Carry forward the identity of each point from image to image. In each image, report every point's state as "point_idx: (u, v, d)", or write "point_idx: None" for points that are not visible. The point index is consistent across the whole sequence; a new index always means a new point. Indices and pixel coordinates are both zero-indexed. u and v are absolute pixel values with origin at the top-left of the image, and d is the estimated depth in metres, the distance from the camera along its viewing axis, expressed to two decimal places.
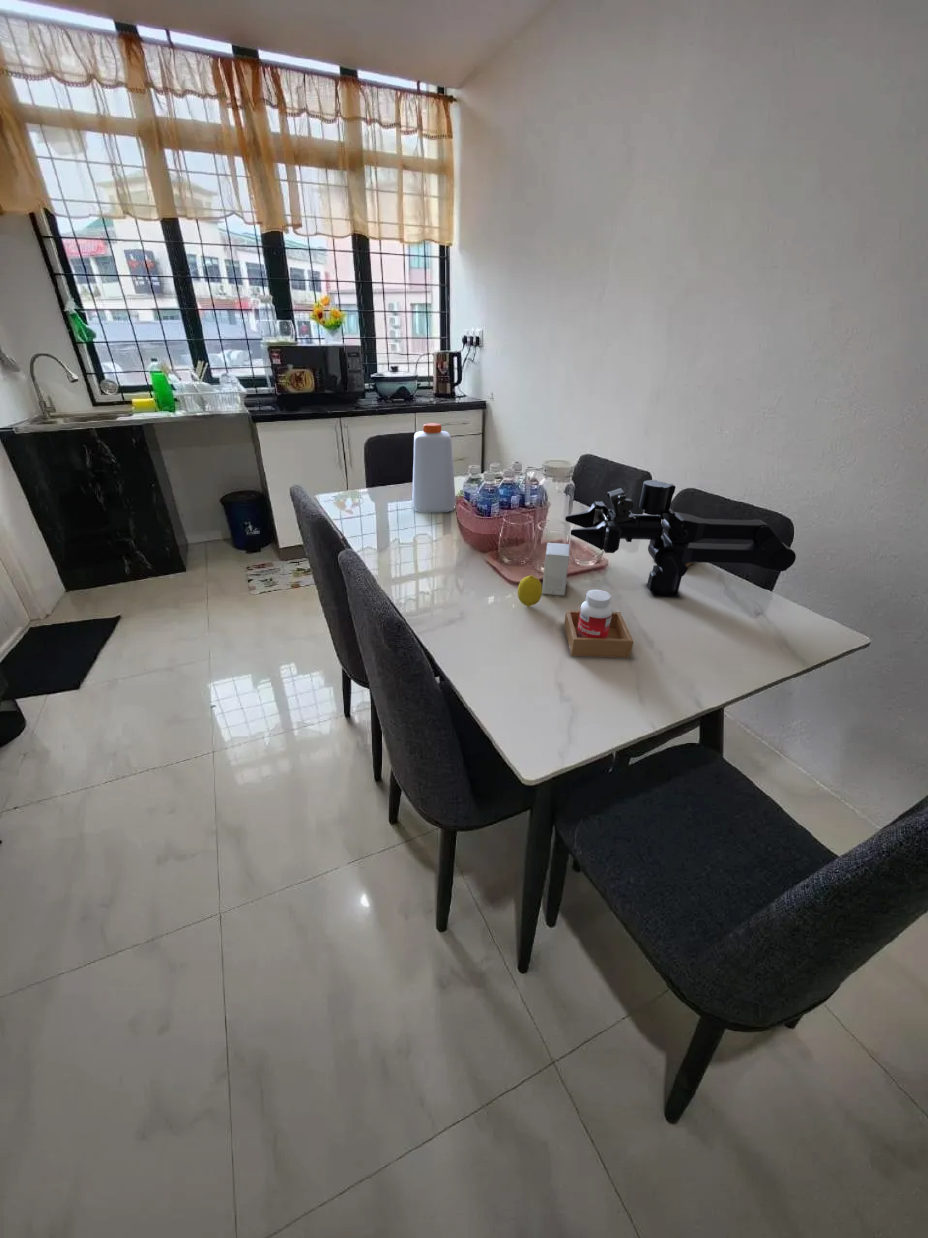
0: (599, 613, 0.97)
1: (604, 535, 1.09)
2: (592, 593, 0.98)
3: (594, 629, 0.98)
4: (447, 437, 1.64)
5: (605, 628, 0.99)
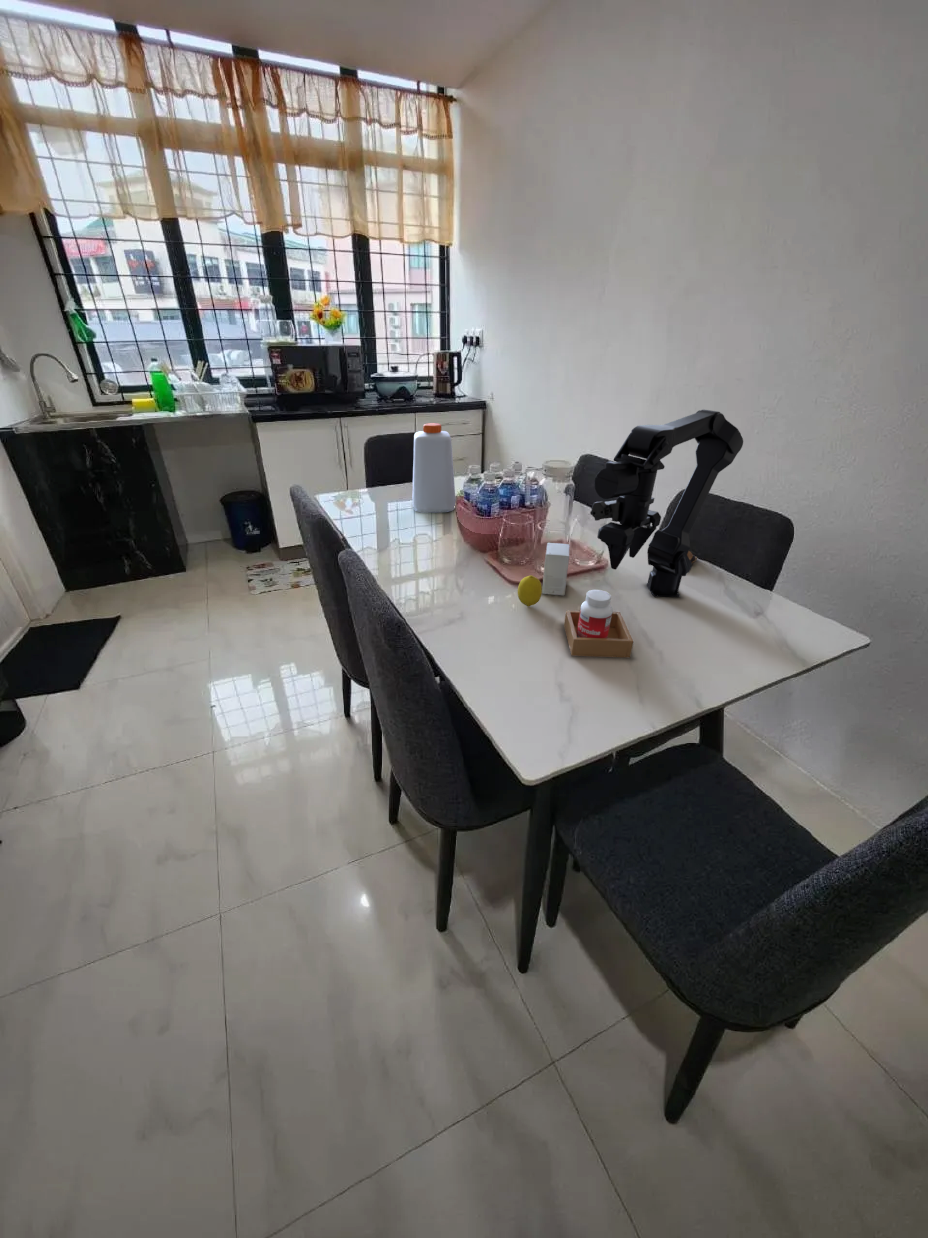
0: (599, 613, 0.97)
1: (609, 542, 1.02)
2: (592, 593, 0.98)
3: (594, 629, 0.98)
4: (447, 437, 1.64)
5: (605, 628, 0.99)
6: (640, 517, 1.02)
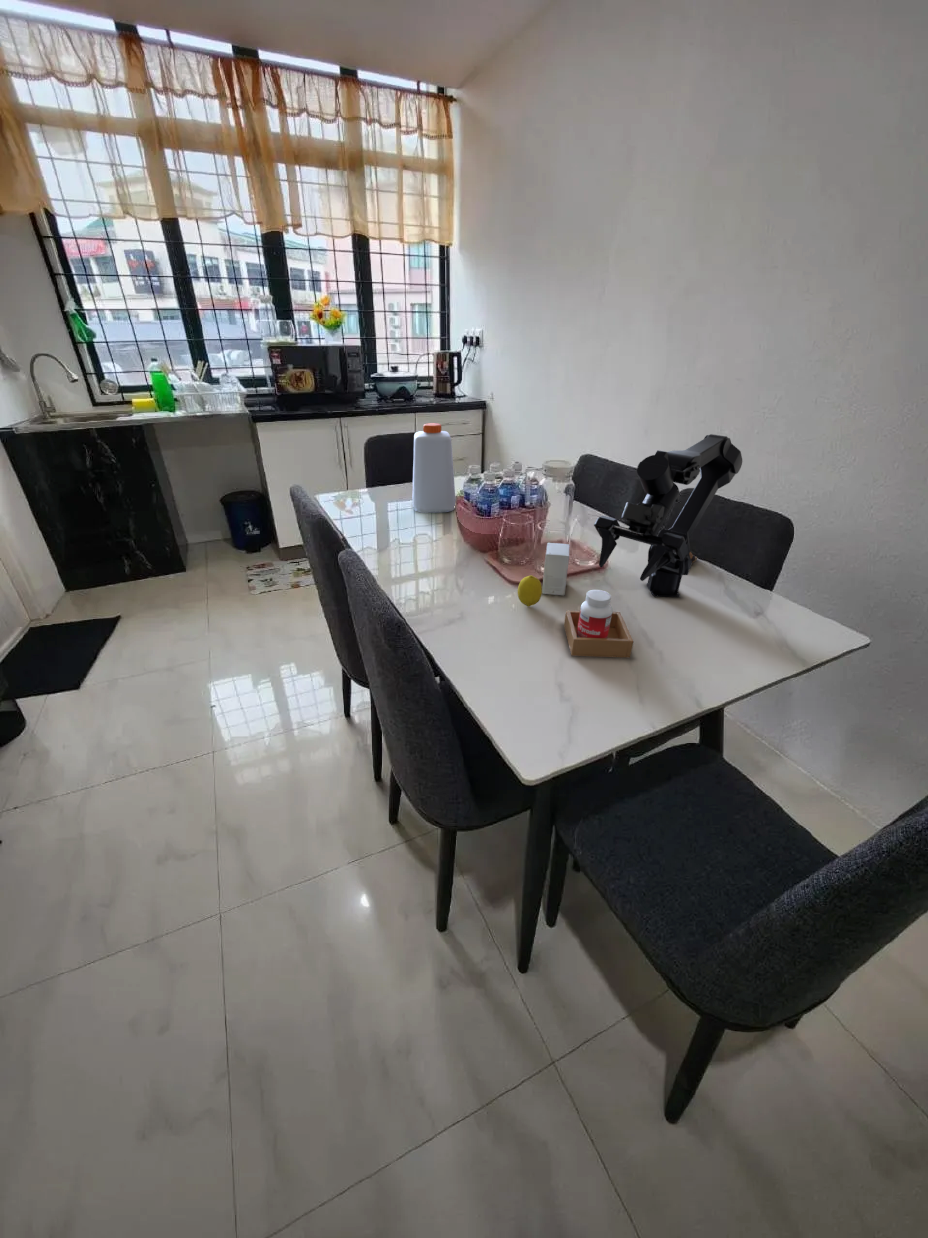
0: (599, 613, 0.97)
1: (672, 553, 0.97)
2: (592, 593, 0.98)
3: (594, 629, 0.98)
4: (447, 437, 1.64)
5: (605, 628, 0.99)
6: None
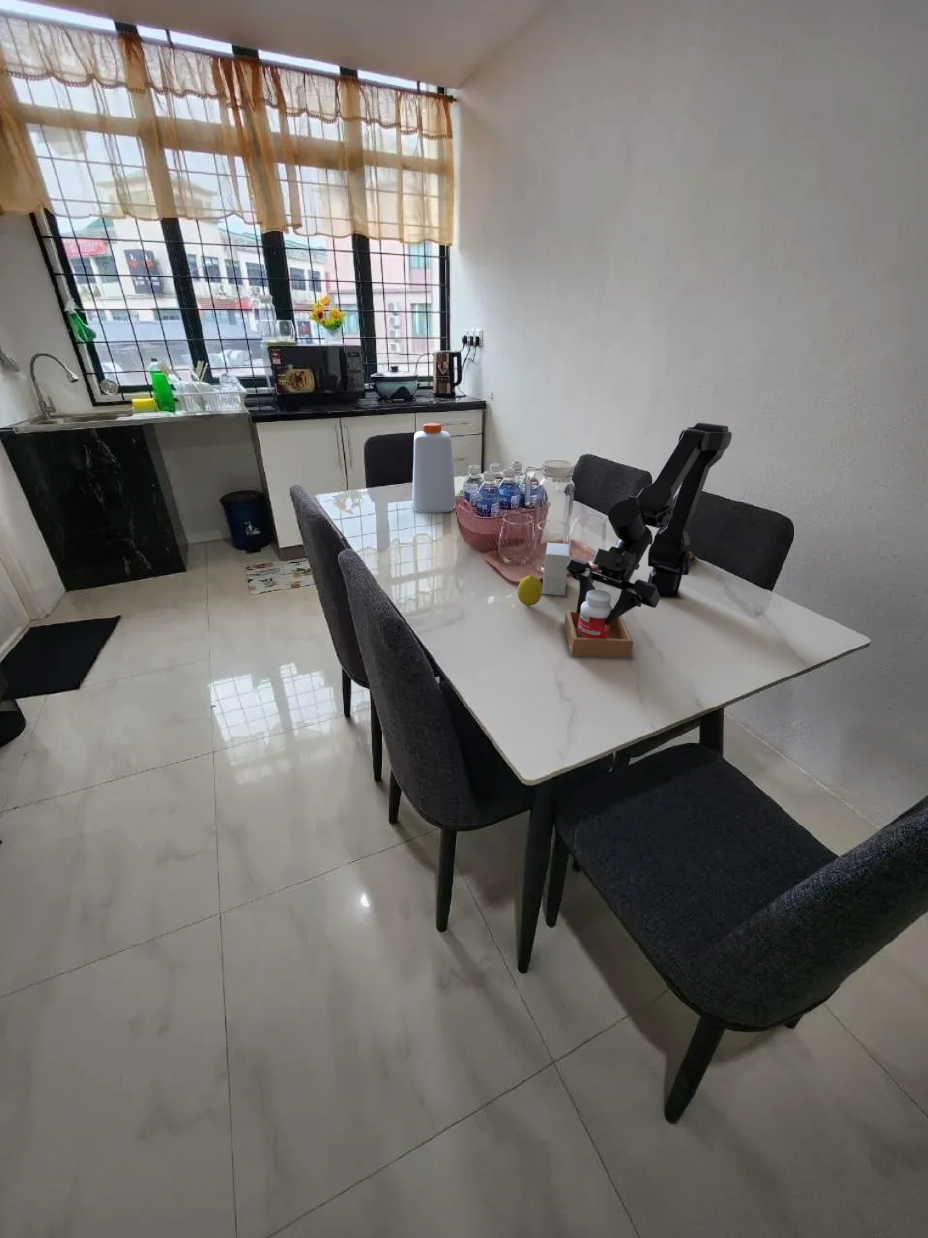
0: (599, 613, 0.97)
1: (638, 599, 0.95)
2: (592, 593, 0.98)
3: (594, 629, 0.98)
4: (447, 437, 1.64)
5: (605, 628, 0.99)
6: None
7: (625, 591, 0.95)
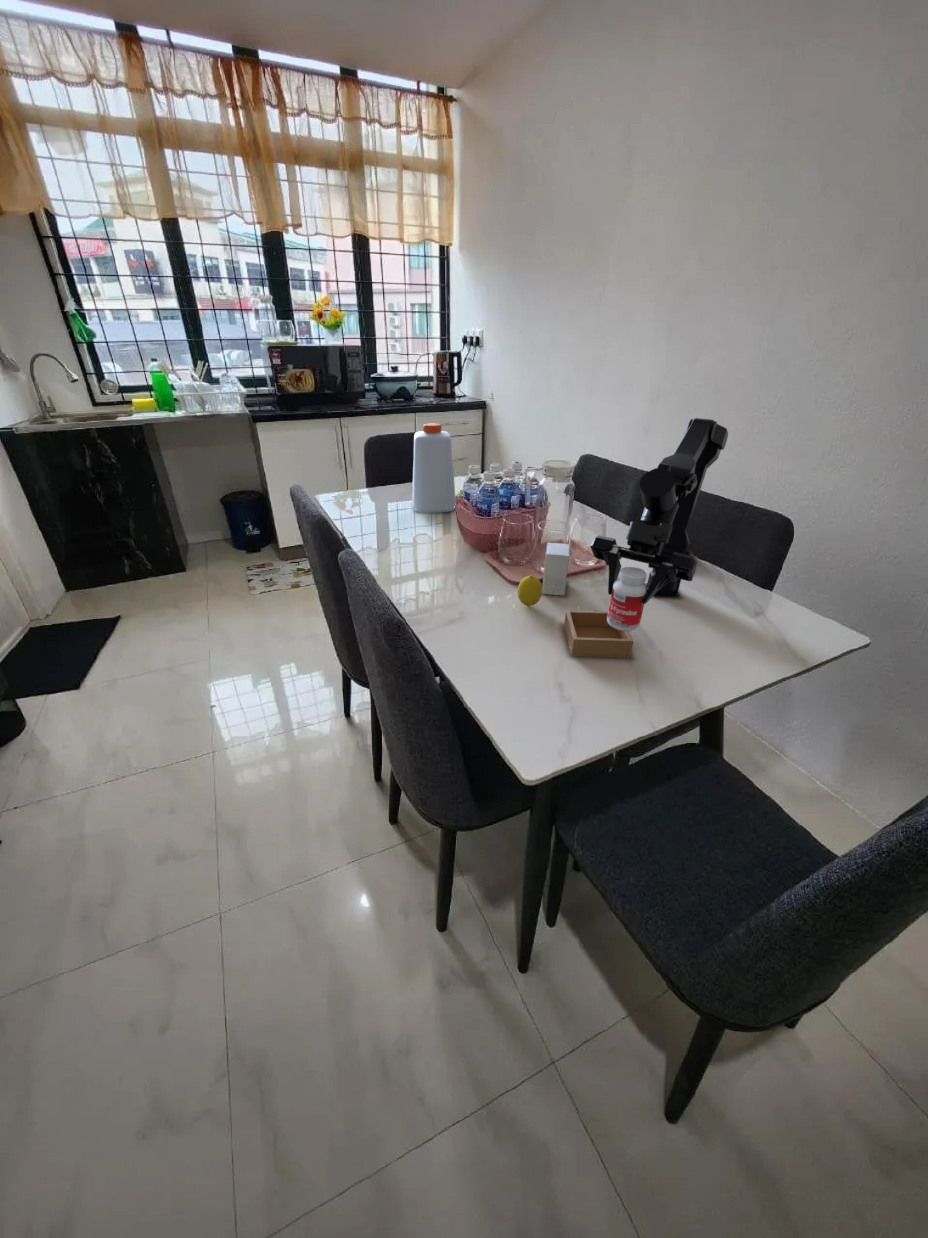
0: (636, 592, 0.90)
1: (675, 573, 0.90)
2: (625, 571, 0.92)
3: (631, 609, 0.92)
4: (447, 437, 1.64)
5: (641, 607, 0.92)
6: None
7: (663, 566, 0.89)
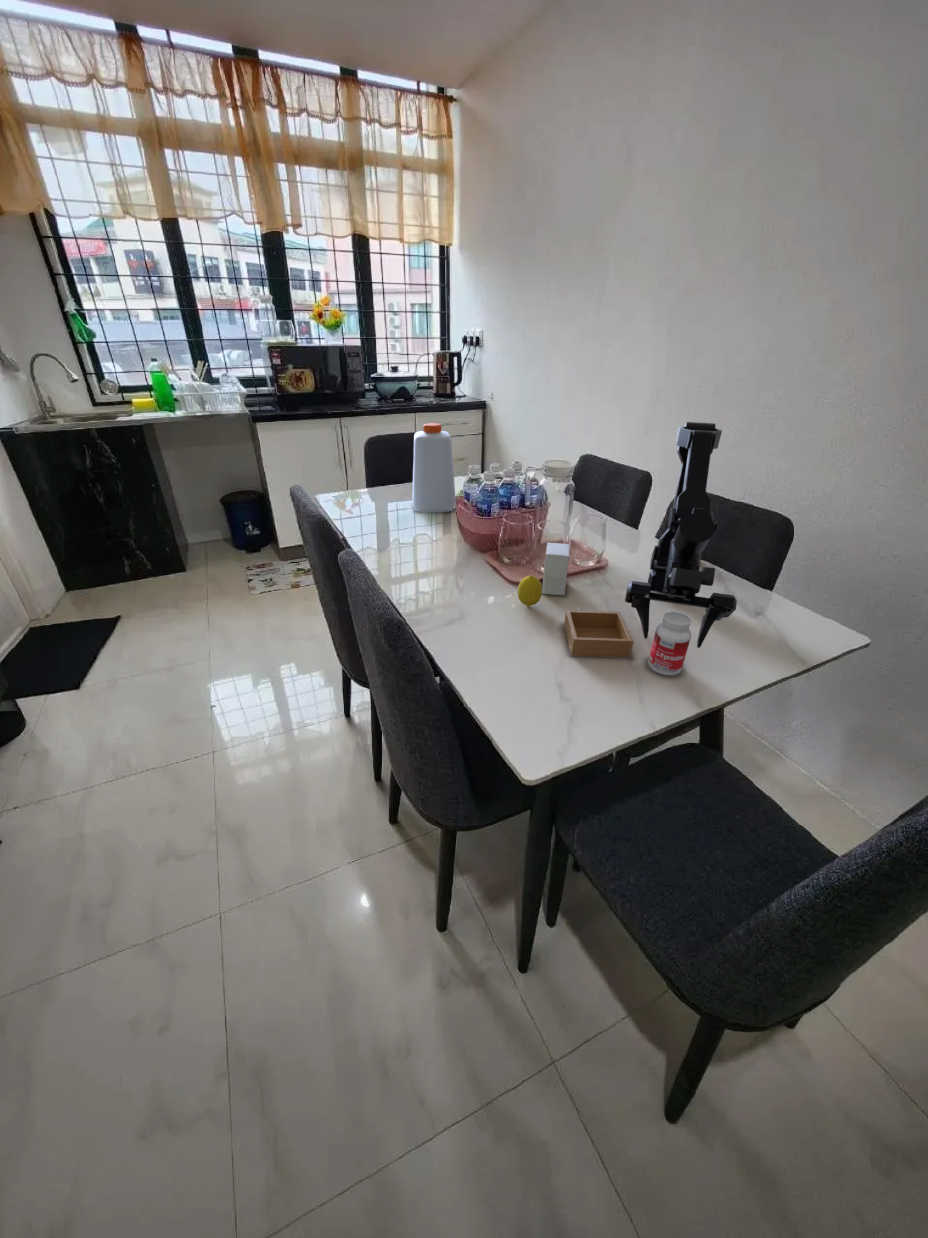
0: (685, 637, 0.90)
1: None
2: (670, 617, 0.91)
3: (679, 654, 0.92)
4: (447, 437, 1.64)
5: (686, 651, 0.93)
6: None
7: (715, 609, 0.89)
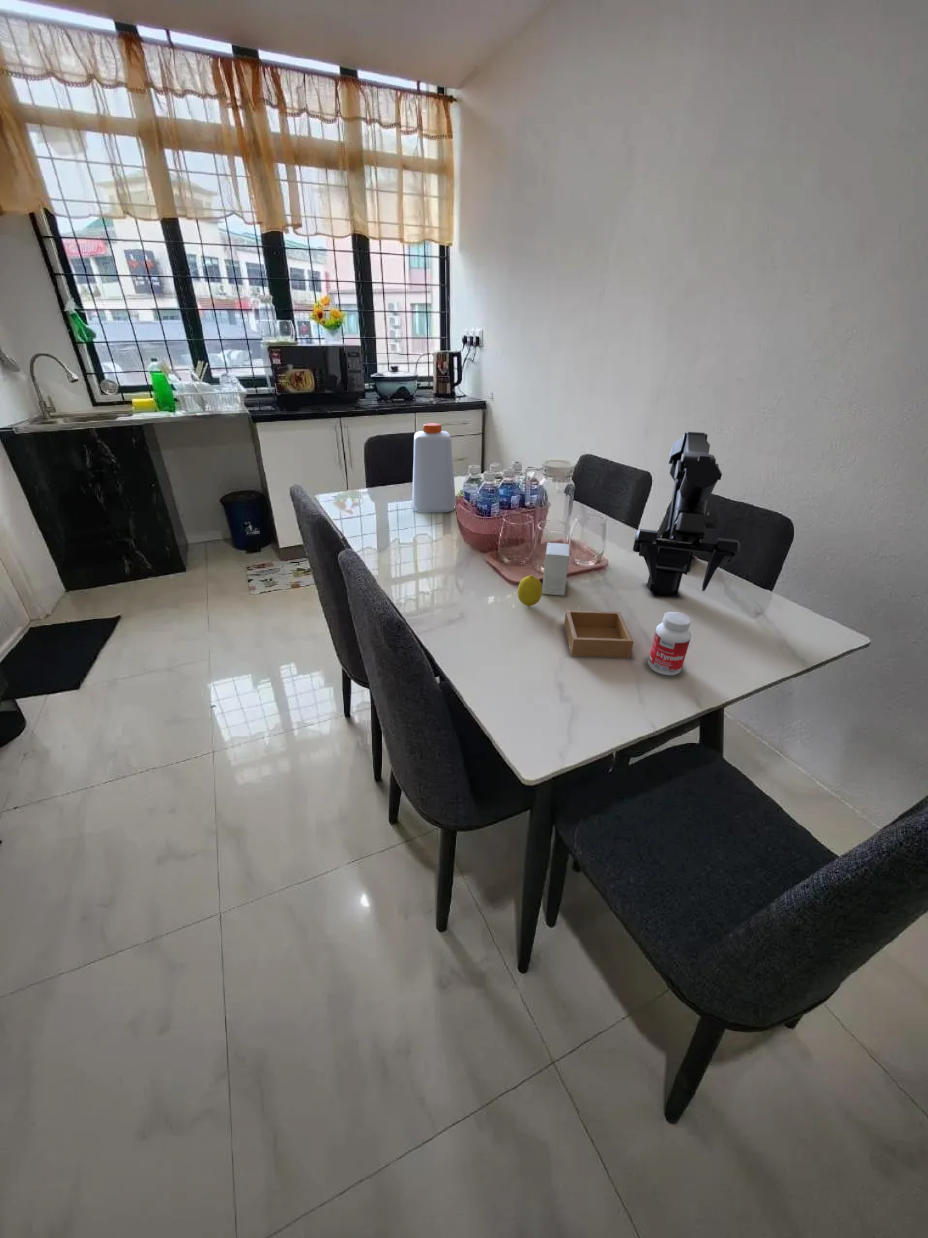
0: (685, 637, 0.90)
1: None
2: (670, 617, 0.91)
3: (679, 654, 0.92)
4: (447, 437, 1.64)
5: (686, 651, 0.93)
6: None
7: (719, 553, 0.94)
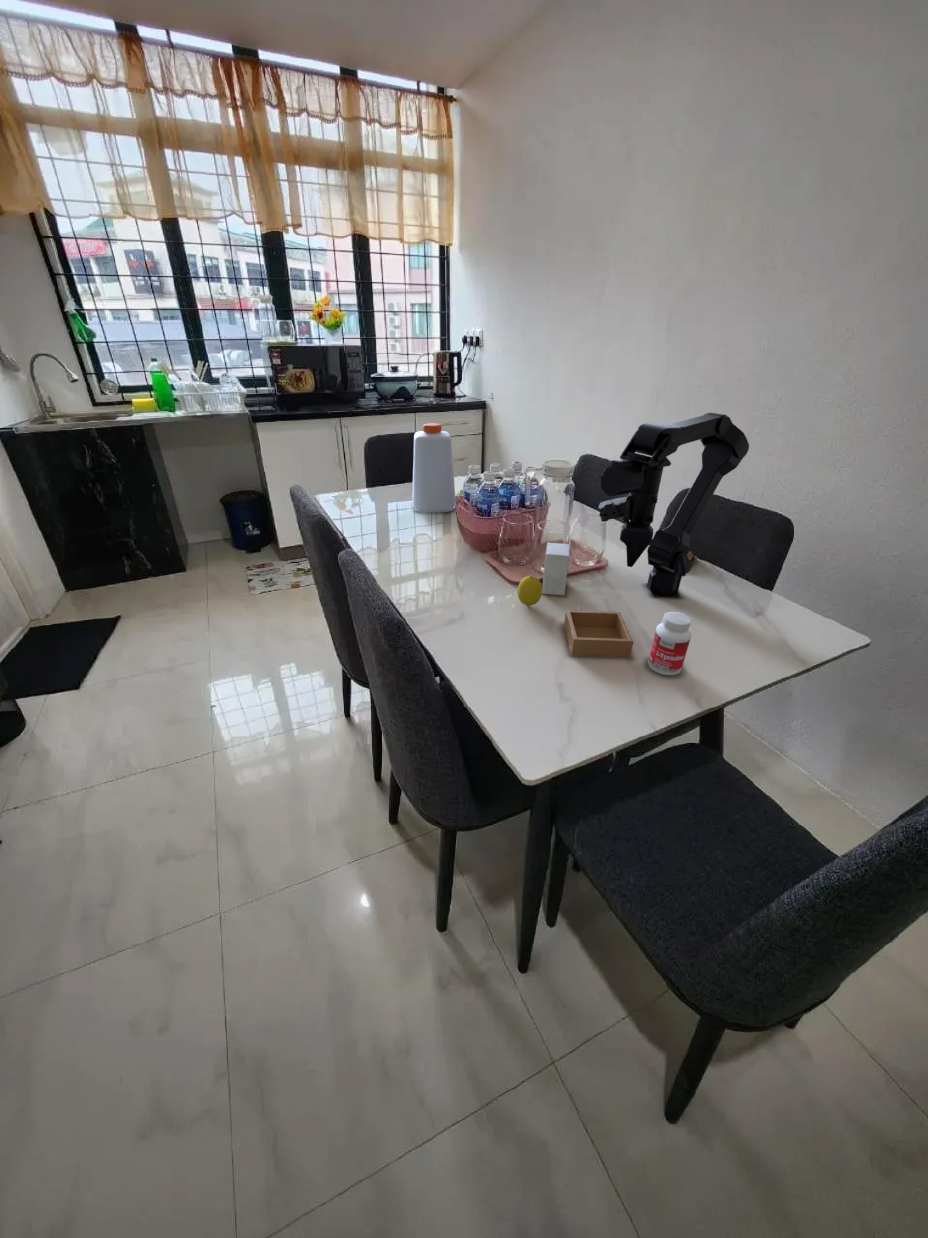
0: (685, 637, 0.90)
1: (631, 542, 1.02)
2: (670, 617, 0.91)
3: (679, 654, 0.92)
4: (447, 437, 1.64)
5: (686, 651, 0.93)
6: (651, 513, 1.04)
7: None
